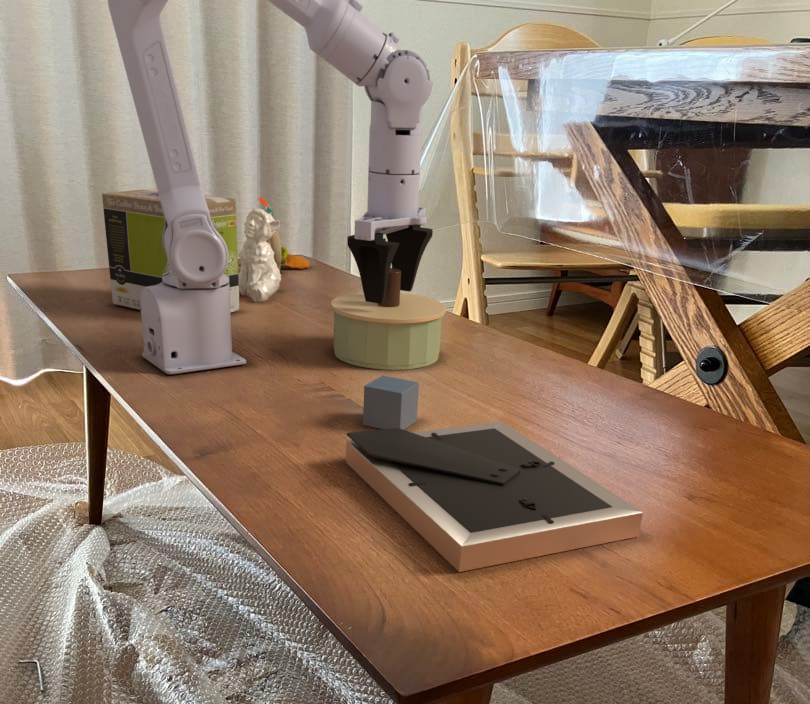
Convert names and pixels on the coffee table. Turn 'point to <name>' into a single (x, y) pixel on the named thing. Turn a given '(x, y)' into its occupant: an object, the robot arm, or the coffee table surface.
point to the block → (390, 403)
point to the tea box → (155, 242)
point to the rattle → (281, 252)
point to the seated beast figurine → (259, 257)
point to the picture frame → (488, 493)
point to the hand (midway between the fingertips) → (389, 295)
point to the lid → (389, 305)
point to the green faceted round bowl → (386, 343)
